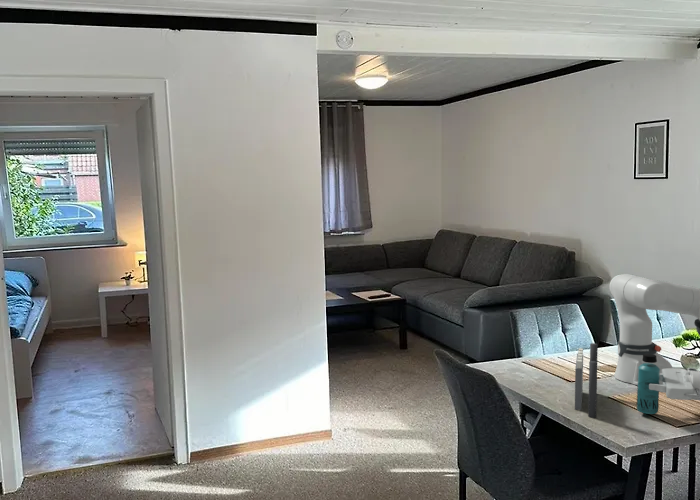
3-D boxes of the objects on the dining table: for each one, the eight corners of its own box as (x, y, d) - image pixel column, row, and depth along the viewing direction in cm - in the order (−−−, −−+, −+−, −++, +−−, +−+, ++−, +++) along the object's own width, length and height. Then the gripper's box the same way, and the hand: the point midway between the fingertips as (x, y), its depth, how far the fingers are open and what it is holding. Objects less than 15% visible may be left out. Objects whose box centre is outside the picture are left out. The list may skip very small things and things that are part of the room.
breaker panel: (582, 392, 223) (583, 347, 221) (581, 410, 207) (582, 362, 205) (576, 391, 224) (577, 347, 222) (574, 409, 207) (575, 361, 205)
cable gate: (596, 392, 222) (597, 343, 220) (596, 418, 200) (597, 363, 197) (589, 392, 223) (590, 343, 221) (588, 417, 200) (589, 362, 198)
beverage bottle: (632, 411, 204) (633, 352, 202) (651, 410, 205) (653, 351, 202) (643, 419, 198) (645, 357, 195) (663, 418, 198) (665, 356, 196)
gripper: (701, 407, 186) (649, 402, 191) (692, 385, 205) (645, 381, 210) (702, 386, 185) (650, 382, 190) (692, 366, 204) (646, 362, 209)
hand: (647, 381), depth 200 cm, fingers open, 8 cm apart
